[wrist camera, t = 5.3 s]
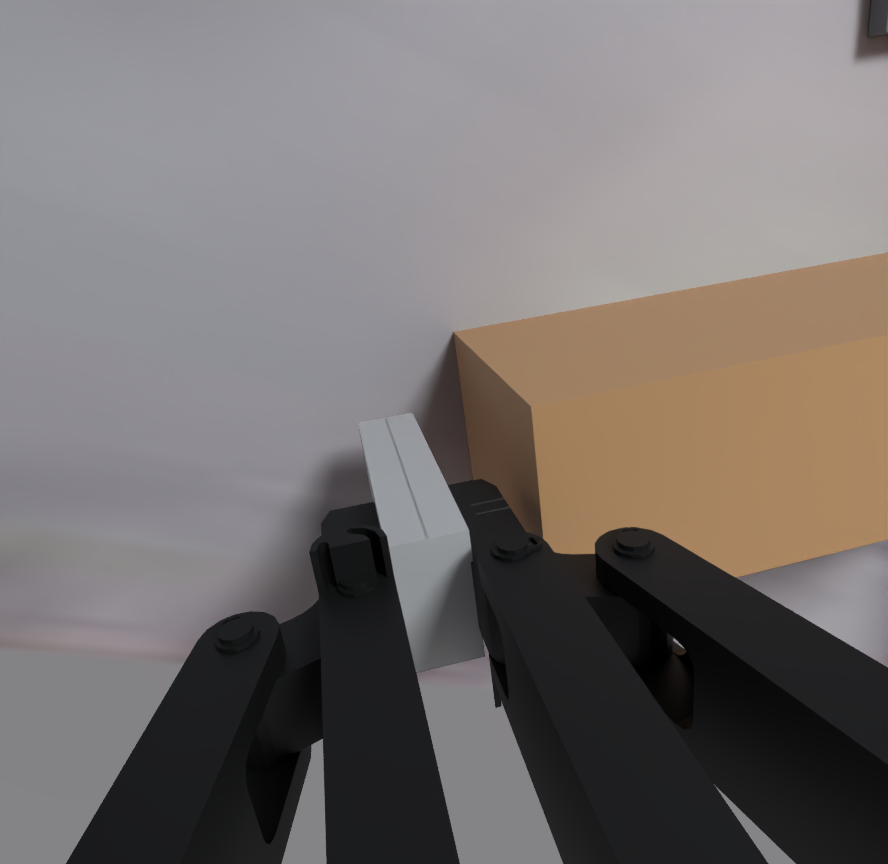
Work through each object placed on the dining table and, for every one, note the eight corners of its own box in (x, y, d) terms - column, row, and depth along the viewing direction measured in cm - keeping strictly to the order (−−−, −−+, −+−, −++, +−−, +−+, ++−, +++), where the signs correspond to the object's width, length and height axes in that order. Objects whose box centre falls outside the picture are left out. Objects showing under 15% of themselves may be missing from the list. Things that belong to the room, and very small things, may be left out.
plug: (473, 486, 20) (551, 624, 14) (452, 331, 18) (531, 406, 12) (1040, 363, 23) (1323, 430, 17) (1071, 218, 21) (1403, 230, 15)
